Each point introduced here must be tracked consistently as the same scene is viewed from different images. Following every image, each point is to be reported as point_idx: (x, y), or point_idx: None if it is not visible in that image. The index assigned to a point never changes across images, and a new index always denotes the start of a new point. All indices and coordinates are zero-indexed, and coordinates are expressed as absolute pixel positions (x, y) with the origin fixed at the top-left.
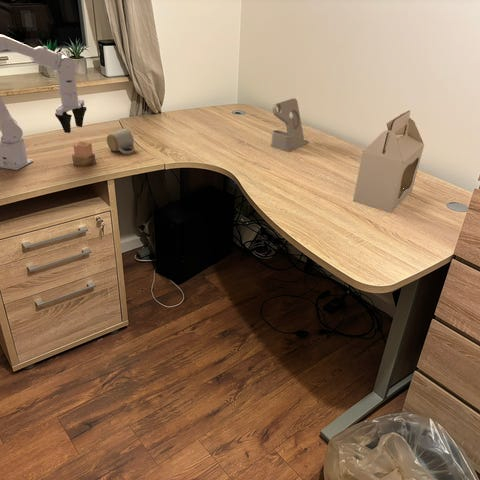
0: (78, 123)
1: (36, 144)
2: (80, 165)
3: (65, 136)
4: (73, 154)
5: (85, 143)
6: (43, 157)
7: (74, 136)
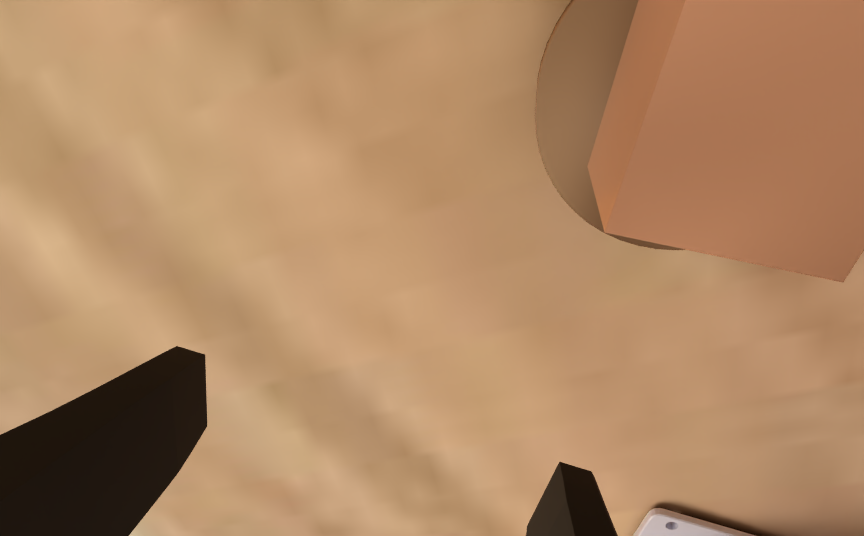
0: (166, 440)
1: (318, 530)
2: None
3: None
4: (653, 244)
5: (734, 94)
6: (556, 461)
7: (70, 359)
